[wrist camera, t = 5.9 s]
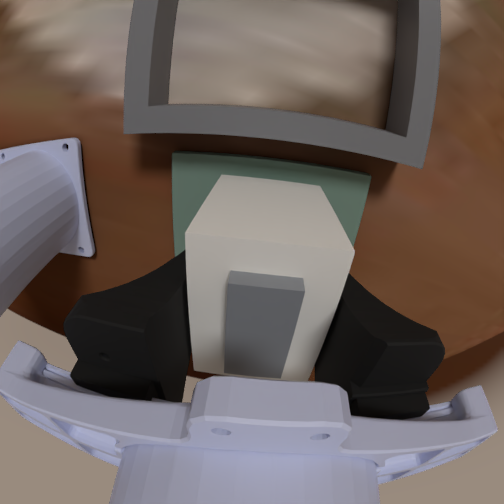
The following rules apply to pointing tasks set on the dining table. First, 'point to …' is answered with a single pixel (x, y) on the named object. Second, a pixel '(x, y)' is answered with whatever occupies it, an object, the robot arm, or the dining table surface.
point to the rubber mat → (216, 164)
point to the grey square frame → (283, 121)
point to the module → (263, 277)
